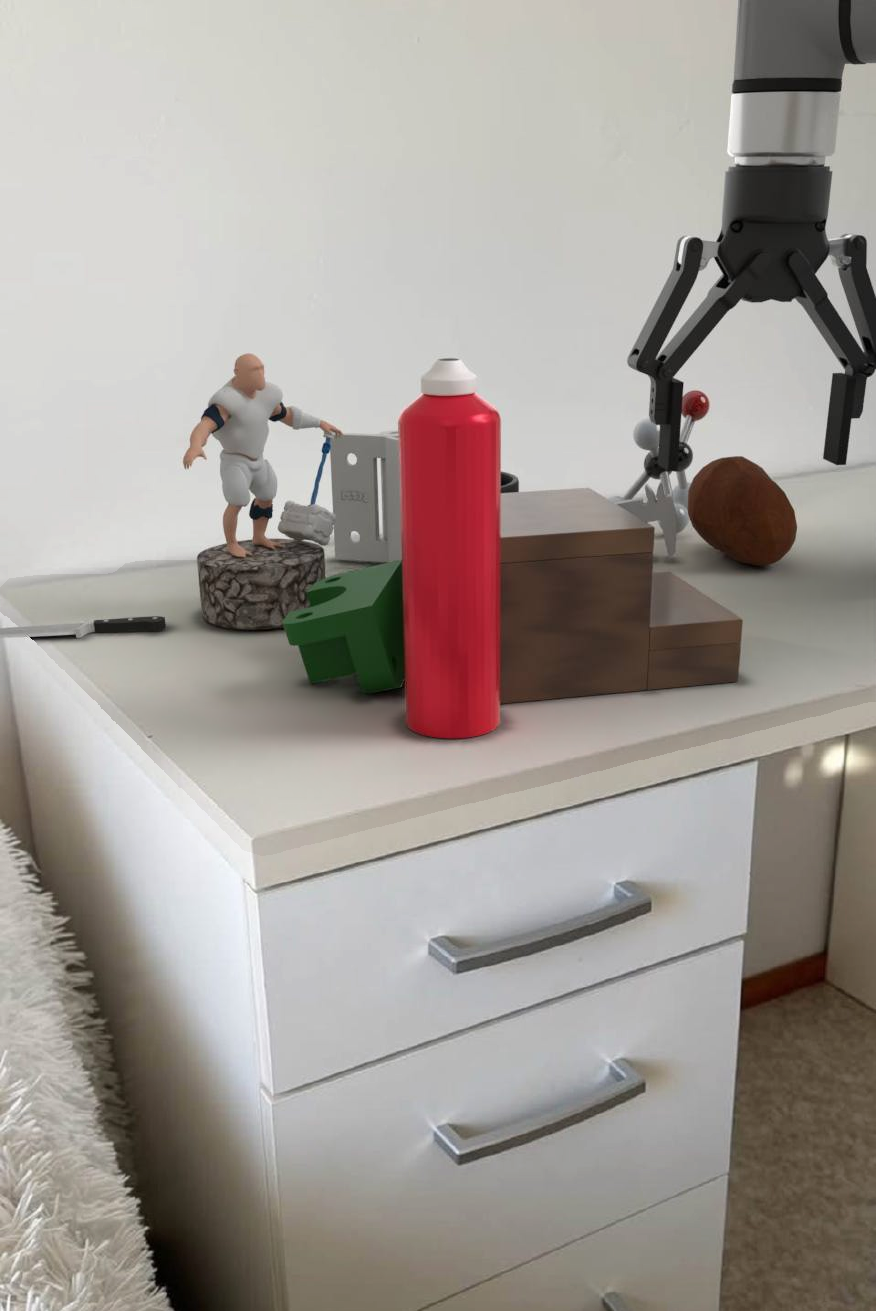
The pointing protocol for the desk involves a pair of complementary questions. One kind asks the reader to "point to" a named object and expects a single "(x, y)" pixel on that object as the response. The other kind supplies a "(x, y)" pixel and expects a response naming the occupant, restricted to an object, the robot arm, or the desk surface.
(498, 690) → the bottle
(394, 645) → the clamp
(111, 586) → the desk surface
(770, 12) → the robot arm
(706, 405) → the molecular model
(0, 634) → the knife
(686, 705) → the desk surface
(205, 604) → the figurine
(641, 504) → the caliper
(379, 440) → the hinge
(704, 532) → the potato
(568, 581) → the step shelf
